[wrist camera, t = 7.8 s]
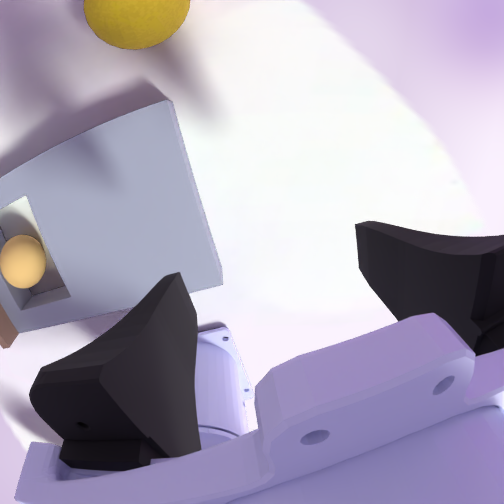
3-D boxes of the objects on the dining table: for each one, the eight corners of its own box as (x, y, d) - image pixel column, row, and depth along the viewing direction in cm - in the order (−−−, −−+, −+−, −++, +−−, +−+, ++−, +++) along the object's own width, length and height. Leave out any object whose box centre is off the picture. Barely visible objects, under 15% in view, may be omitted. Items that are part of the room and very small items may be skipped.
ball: (54, 277, 21) (55, 262, 18) (17, 302, 18) (11, 292, 15) (32, 237, 20) (31, 216, 18) (-5, 260, 18) (-12, 242, 15)
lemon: (99, 50, 15) (40, 21, 7) (135, -17, 13) (100, -72, 6) (172, 70, 16) (144, 39, 9) (209, 1, 14) (207, -60, 7)
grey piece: (221, 267, 22) (224, 301, 18) (23, 319, 22) (3, 348, 18) (172, 102, 17) (160, 96, 13) (-32, 203, 17) (-63, 220, 13)
